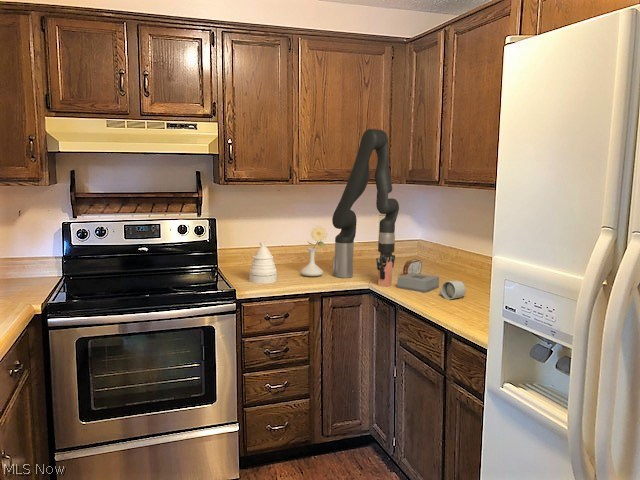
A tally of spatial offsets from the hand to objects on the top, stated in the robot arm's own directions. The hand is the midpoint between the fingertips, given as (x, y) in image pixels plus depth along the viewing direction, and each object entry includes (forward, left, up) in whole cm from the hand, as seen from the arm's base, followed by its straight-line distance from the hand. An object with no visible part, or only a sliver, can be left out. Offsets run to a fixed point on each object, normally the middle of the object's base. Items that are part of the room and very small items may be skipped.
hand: (385, 278), depth 248 cm
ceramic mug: (+33, -2, -4) cm, 33 cm away
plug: (0, 0, -3) cm, 3 cm away
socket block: (+14, +6, -3) cm, 16 cm away
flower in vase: (-38, -5, -4) cm, 38 cm away
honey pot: (-49, -30, -4) cm, 57 cm away
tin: (0, +28, -4) cm, 28 cm away
